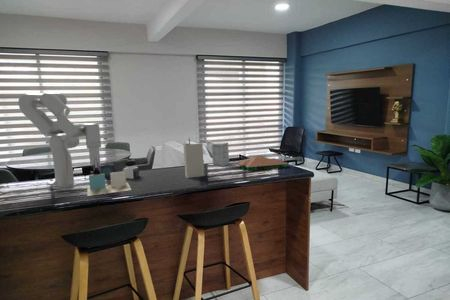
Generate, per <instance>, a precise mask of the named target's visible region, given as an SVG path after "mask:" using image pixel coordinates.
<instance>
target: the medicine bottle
mask: <svg viewBox="0 0 450 300" xmlns="http://www.w3.org/2000/svg"><path fill="white" fill-rule="evenodd" d="M122 171H125V177H126V179H131V180H132V179H136V178H138V177H140V171H139V166H136V160H135V159H128V160H127V159H126V161H125V167H124V168H123V169H122Z"/></svg>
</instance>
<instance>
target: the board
mask: <svg viewBox="0 0 450 300" xmlns="http://www.w3.org/2000/svg"><path fill="white" fill-rule="evenodd" d="M126 191H132V188H131V186H130V184H129V182H126V185H125V186H117V187H111V184H106V188H102V189H94V190H90V187H87V193H86V196H87V197H90V196H91V197H92V196H97V195H106V194H112V193H120V192H126Z"/></svg>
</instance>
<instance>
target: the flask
mask: <svg viewBox="0 0 450 300" xmlns="http://www.w3.org/2000/svg"><path fill="white" fill-rule="evenodd" d="M99 170H100V174H105V180H107V179H111V178H110V173H112V172H115V165H114V163H108V161H106V162H104V164H100V165H99Z"/></svg>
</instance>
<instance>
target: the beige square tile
mask: <svg viewBox="0 0 450 300" xmlns="http://www.w3.org/2000/svg"><path fill="white" fill-rule="evenodd" d="M109 179H110V185H111V187H117V186H125V185H126V183H127V178H126V177H125V171H123V170H121V171H114V172H112V173H110V178H109Z"/></svg>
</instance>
